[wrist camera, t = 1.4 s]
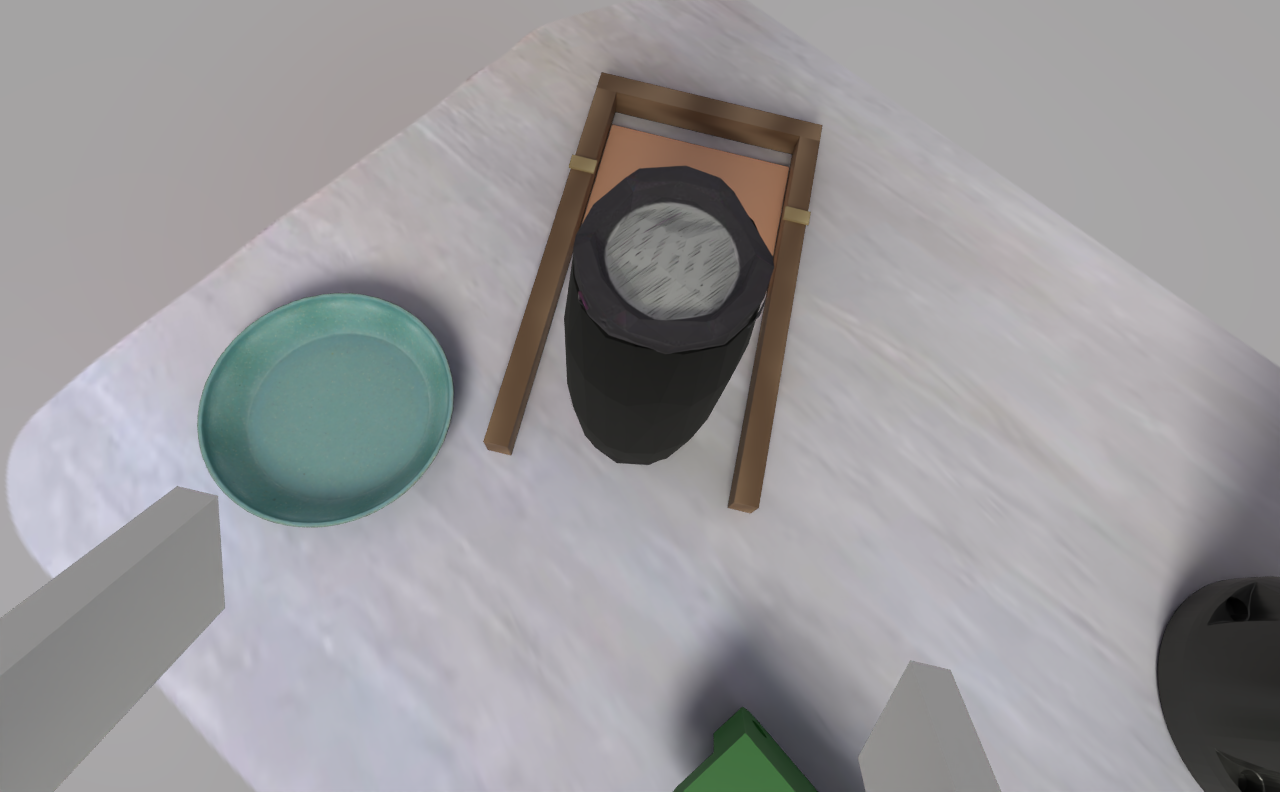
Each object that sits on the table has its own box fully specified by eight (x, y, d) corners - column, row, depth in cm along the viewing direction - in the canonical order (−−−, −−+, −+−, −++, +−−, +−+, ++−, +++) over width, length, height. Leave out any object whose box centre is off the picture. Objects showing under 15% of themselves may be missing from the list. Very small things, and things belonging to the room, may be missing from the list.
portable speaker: (562, 470, 42) (542, 345, 24) (582, 335, 45) (579, 132, 27) (697, 486, 42) (781, 375, 24) (707, 351, 46) (789, 161, 27)
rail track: (815, 144, 52) (825, 123, 50) (753, 513, 42) (761, 508, 40) (599, 91, 52) (599, 69, 50) (485, 449, 42) (480, 439, 40)
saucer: (362, 270, 46) (349, 249, 43) (509, 416, 43) (504, 403, 41) (169, 414, 42) (142, 401, 39) (320, 586, 39) (302, 583, 37)
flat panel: (788, 169, 51) (789, 167, 51) (765, 294, 47) (766, 292, 47) (612, 127, 51) (612, 124, 51) (575, 248, 47) (575, 246, 47)
